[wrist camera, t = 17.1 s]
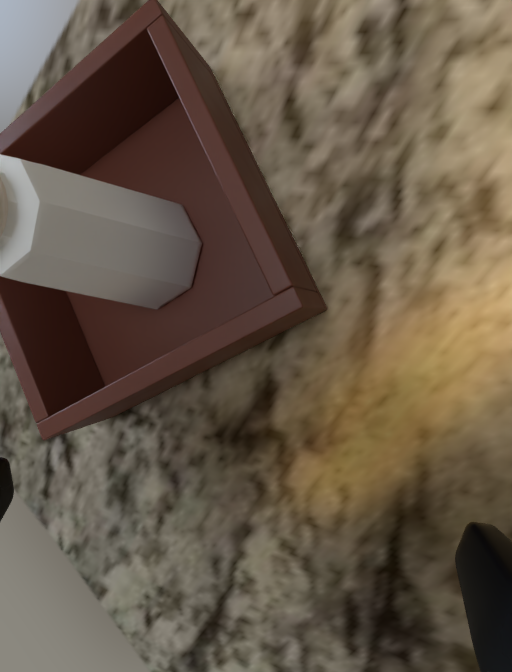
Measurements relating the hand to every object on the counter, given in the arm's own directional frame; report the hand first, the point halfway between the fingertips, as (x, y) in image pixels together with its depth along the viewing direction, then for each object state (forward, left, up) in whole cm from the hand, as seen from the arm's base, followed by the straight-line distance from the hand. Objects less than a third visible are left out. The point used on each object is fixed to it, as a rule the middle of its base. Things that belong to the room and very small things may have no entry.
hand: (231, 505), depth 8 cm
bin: (+10, +5, -11) cm, 15 cm away
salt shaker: (+10, +4, -10) cm, 15 cm away
